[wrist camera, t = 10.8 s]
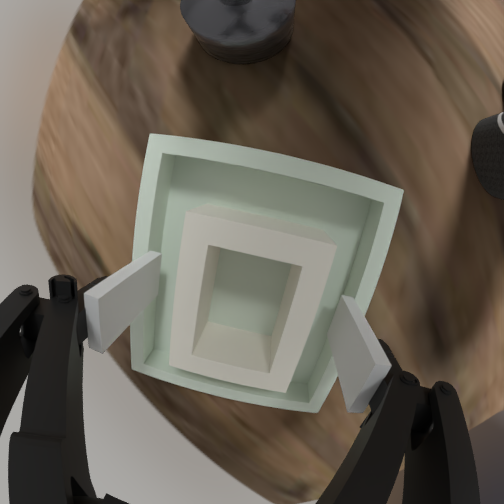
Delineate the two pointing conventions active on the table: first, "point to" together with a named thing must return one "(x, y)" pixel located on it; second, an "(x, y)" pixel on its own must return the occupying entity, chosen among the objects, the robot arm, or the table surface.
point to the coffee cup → (490, 154)
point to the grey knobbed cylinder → (240, 27)
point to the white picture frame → (237, 340)
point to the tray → (254, 267)
